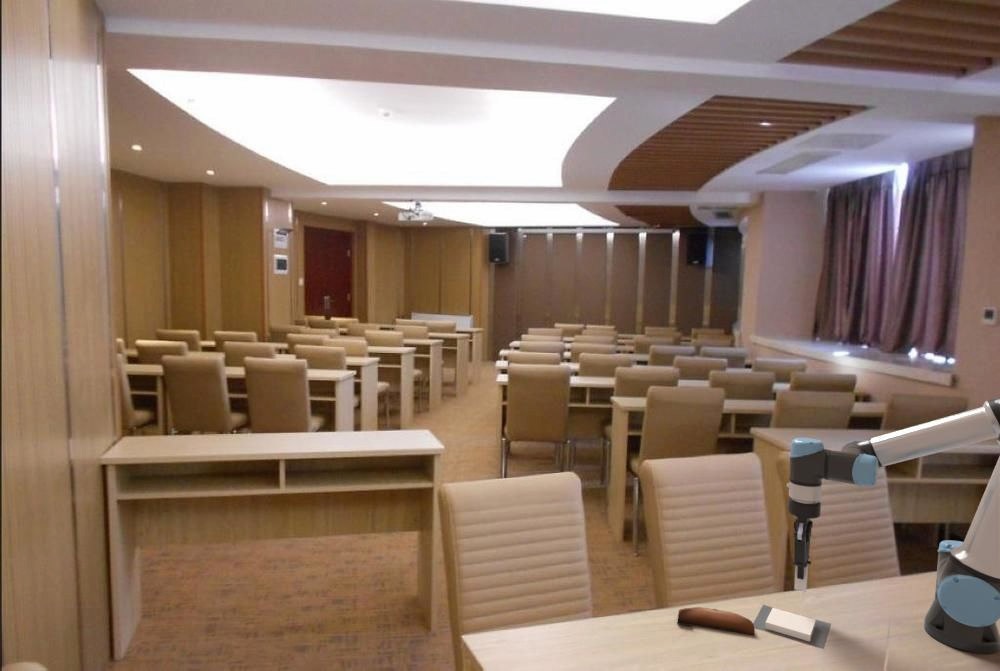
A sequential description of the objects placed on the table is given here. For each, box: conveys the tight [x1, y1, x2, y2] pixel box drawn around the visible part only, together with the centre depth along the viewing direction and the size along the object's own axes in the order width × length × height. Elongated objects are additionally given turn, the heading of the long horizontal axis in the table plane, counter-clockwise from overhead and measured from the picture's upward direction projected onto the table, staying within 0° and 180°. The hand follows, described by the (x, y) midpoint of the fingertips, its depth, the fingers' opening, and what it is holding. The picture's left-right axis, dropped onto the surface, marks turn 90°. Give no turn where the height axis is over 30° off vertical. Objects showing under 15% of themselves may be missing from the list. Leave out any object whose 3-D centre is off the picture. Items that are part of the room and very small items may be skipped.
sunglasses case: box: [677, 606, 756, 636], centre depth 159 cm, size 18×7×7 cm, turn 74°
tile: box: [765, 607, 817, 642], centre depth 157 cm, size 10×2×9 cm
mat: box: [752, 604, 832, 650], centre depth 158 cm, size 16×14×1 cm
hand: (800, 589), depth 164 cm, fingers closed
